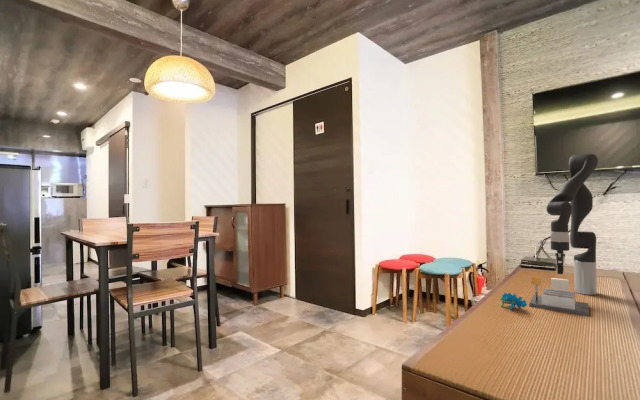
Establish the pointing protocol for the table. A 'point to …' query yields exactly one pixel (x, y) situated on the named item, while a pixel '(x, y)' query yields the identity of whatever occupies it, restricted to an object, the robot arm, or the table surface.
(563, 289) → the block
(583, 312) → the rack
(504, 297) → the blue bumpy plastic figure
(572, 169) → the robot arm
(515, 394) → the table surface
